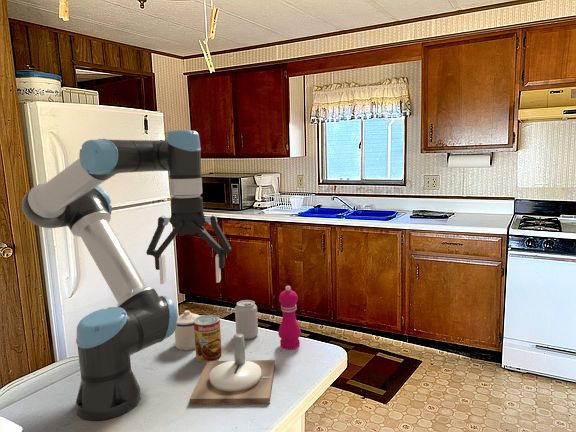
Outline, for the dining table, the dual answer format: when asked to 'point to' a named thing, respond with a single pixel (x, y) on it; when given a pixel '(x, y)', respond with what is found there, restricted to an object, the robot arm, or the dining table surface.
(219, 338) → the canned food
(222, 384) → the dial
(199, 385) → the dial board
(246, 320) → the can
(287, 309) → the pepper mill
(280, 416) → the dining table surface
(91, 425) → the dining table surface
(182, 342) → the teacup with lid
